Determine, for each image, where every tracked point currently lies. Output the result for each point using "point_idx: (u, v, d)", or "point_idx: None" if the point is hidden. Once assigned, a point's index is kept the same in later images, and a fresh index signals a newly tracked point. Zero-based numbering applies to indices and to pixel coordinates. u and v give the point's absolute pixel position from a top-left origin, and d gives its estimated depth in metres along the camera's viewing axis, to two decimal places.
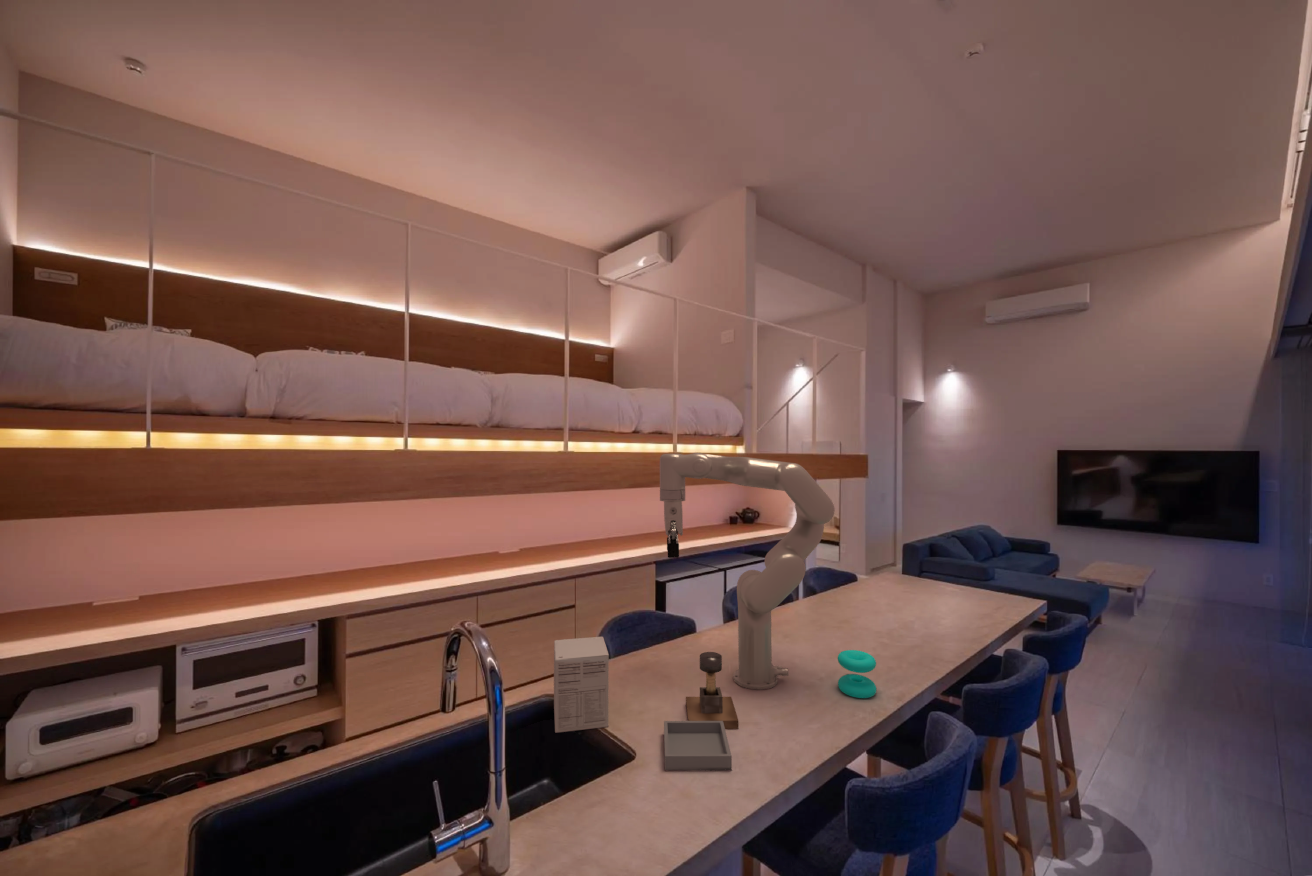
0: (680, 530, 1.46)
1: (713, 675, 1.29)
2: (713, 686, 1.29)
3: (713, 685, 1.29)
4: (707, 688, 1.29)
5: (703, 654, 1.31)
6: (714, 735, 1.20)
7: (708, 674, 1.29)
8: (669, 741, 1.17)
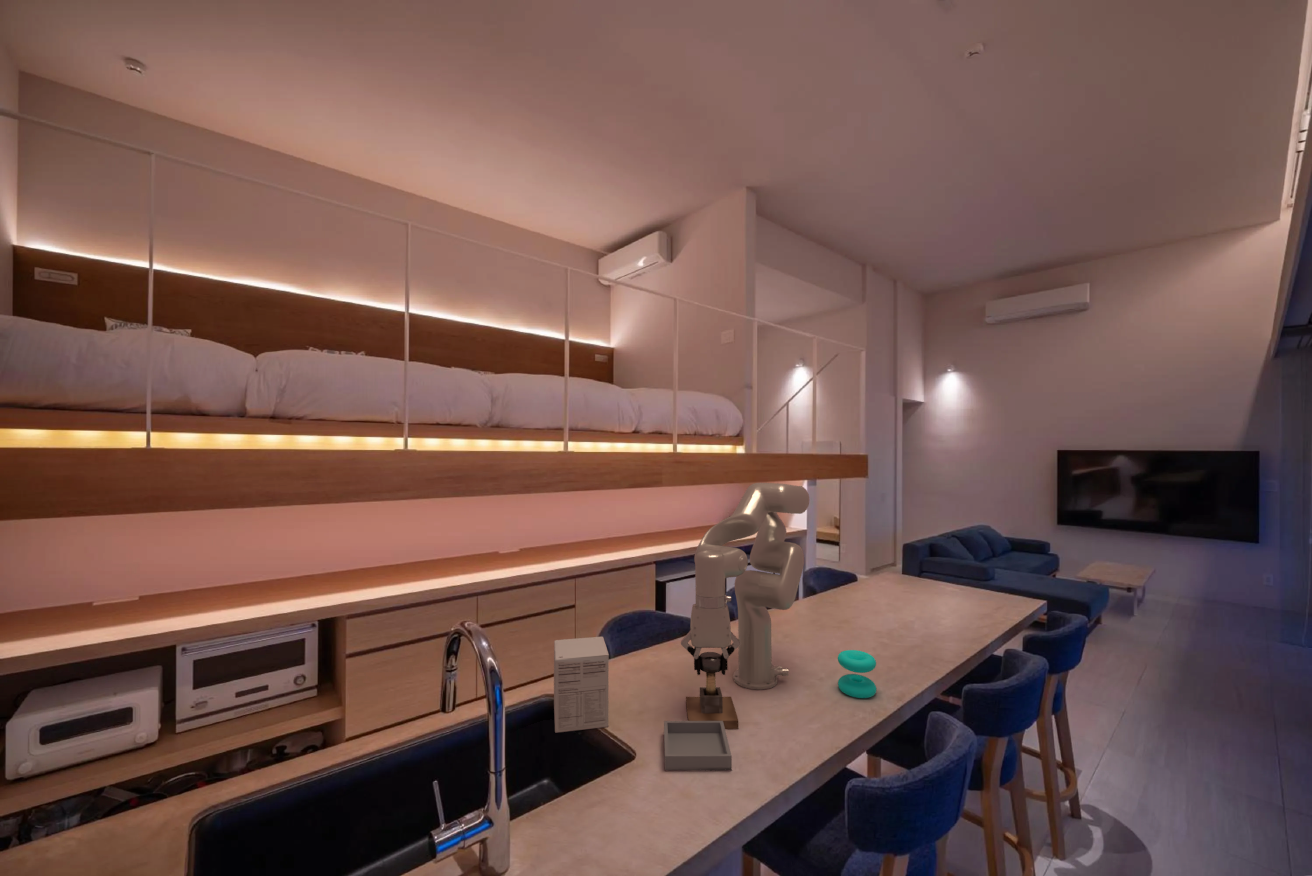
0: None
1: (713, 675, 1.29)
2: (713, 686, 1.29)
3: (713, 685, 1.29)
4: (707, 688, 1.29)
5: (703, 654, 1.31)
6: (714, 735, 1.20)
7: (708, 674, 1.29)
8: (669, 741, 1.17)
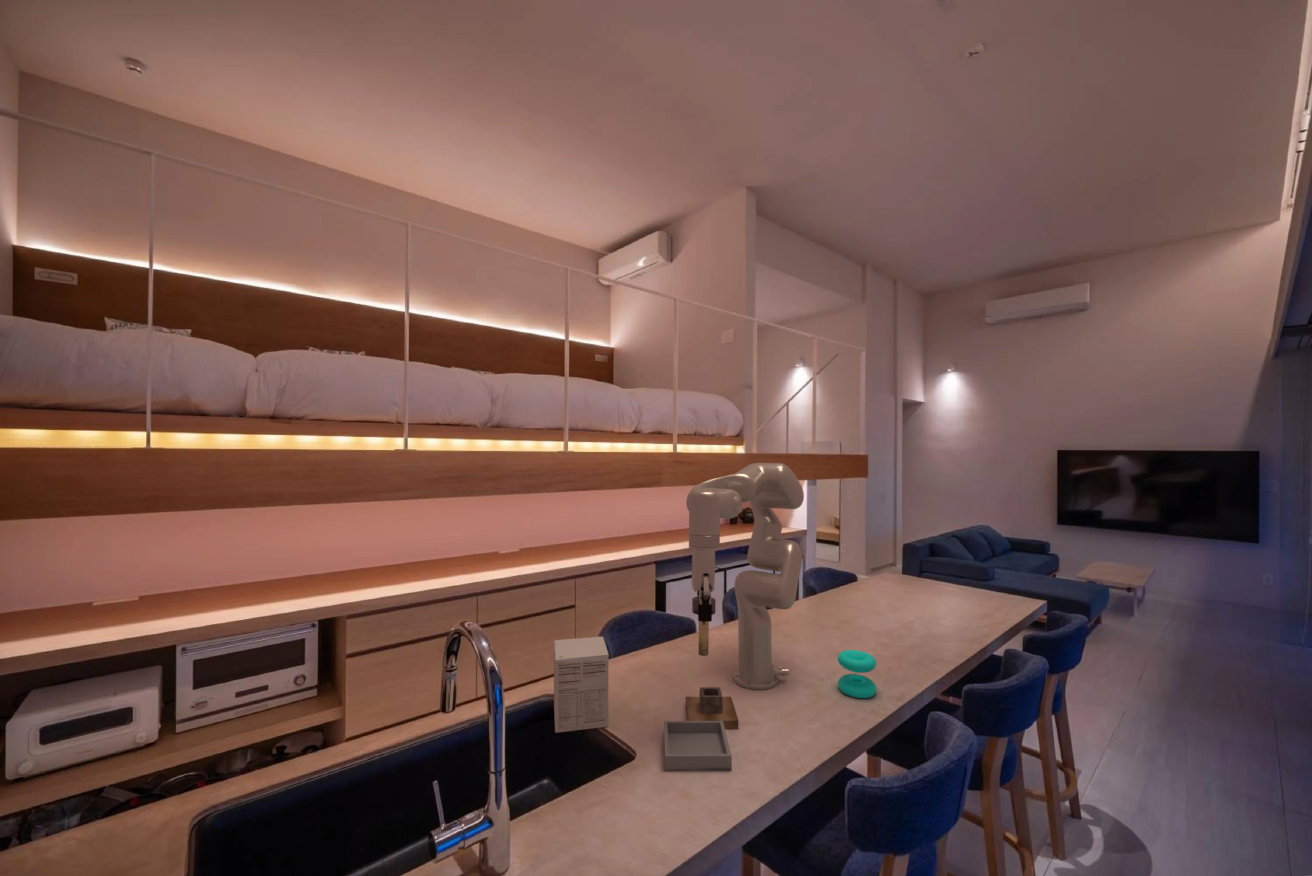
0: None
1: None
2: None
3: None
4: (706, 633, 1.23)
5: None
6: (714, 735, 1.20)
7: None
8: (669, 741, 1.17)
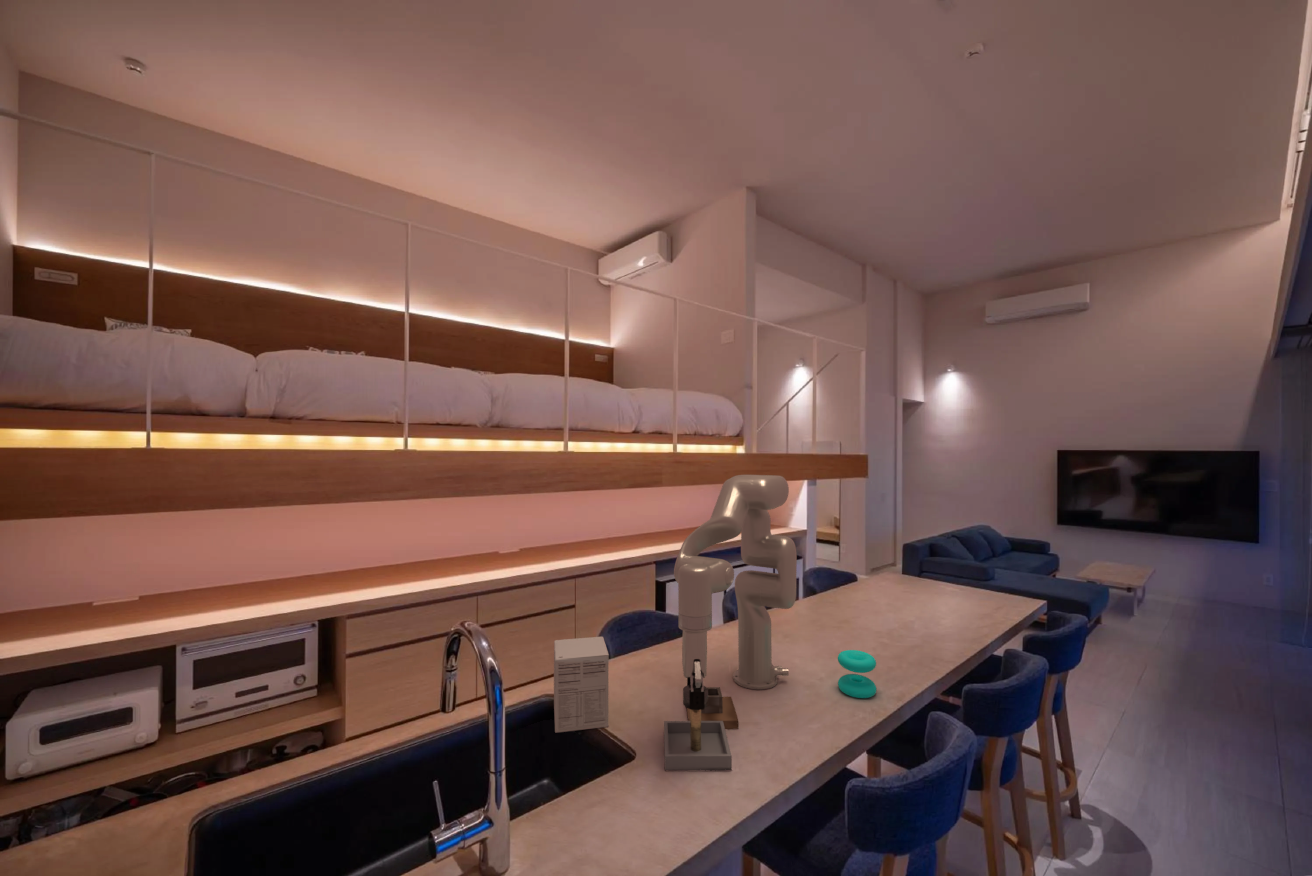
0: None
1: None
2: None
3: None
4: (699, 727, 1.14)
5: None
6: (714, 735, 1.20)
7: (700, 710, 1.14)
8: (669, 741, 1.17)
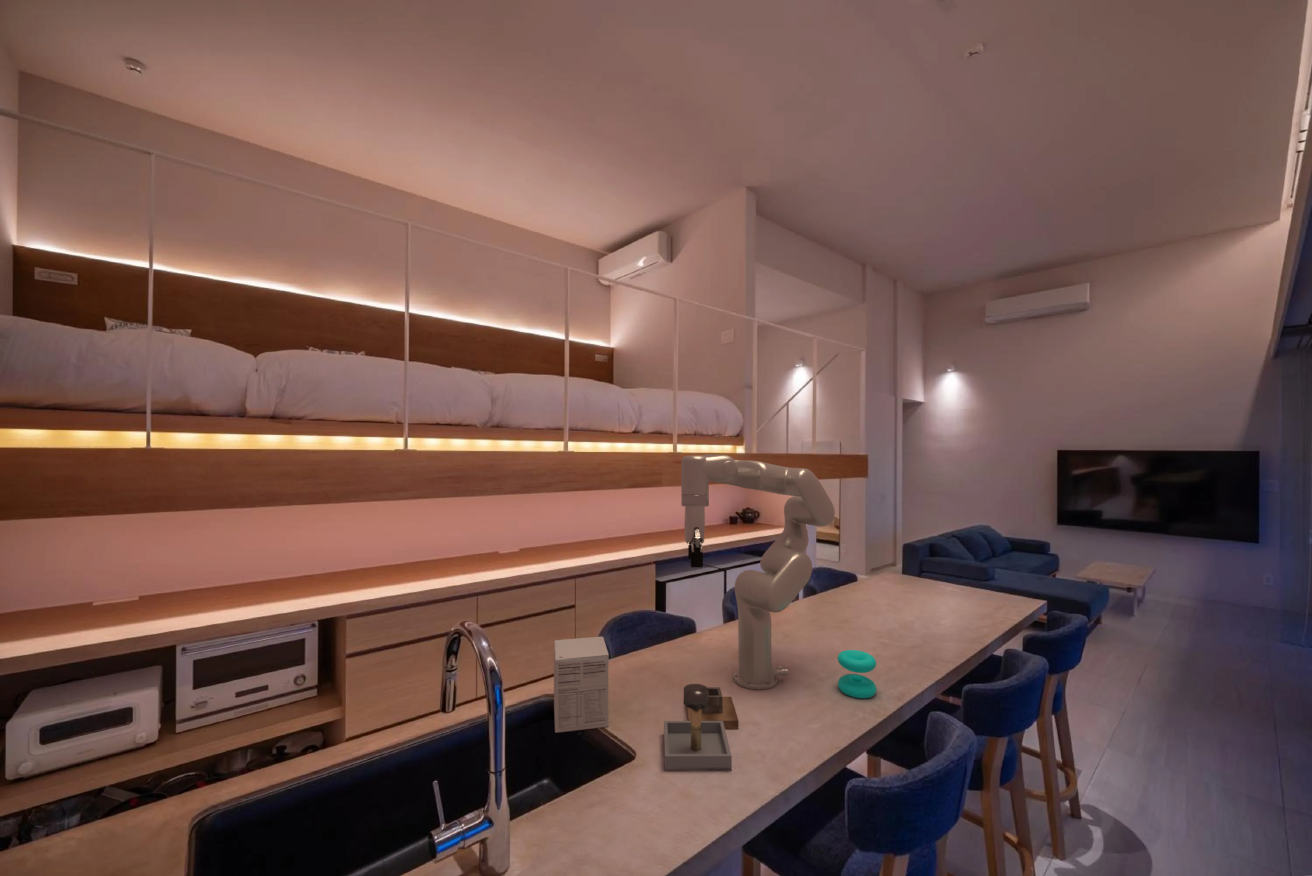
0: None
1: None
2: None
3: None
4: (699, 726, 1.14)
5: (691, 693, 1.13)
6: (714, 735, 1.20)
7: (700, 709, 1.14)
8: (669, 741, 1.17)
